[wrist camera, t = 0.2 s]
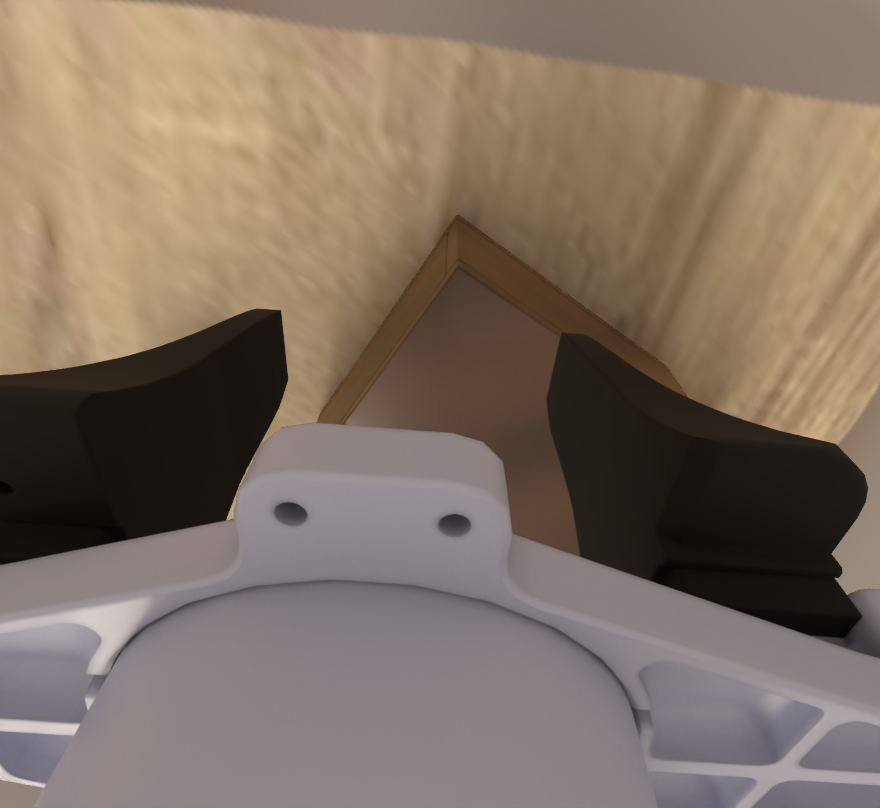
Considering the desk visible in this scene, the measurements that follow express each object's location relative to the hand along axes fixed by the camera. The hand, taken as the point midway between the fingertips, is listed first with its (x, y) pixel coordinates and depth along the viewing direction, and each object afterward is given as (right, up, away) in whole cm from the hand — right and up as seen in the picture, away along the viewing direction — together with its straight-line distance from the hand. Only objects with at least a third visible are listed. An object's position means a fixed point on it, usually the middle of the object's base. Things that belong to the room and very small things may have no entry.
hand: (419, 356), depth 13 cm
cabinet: (+3, -1, +12) cm, 13 cm away
